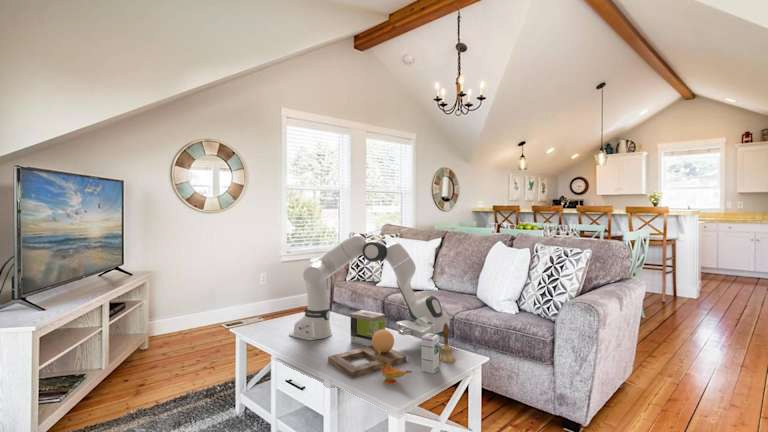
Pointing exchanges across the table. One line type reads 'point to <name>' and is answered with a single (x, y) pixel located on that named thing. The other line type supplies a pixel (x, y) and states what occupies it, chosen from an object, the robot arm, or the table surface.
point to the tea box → (366, 326)
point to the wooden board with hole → (369, 353)
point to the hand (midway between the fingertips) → (400, 332)
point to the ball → (383, 341)
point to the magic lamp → (391, 372)
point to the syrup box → (430, 353)
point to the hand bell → (446, 347)
